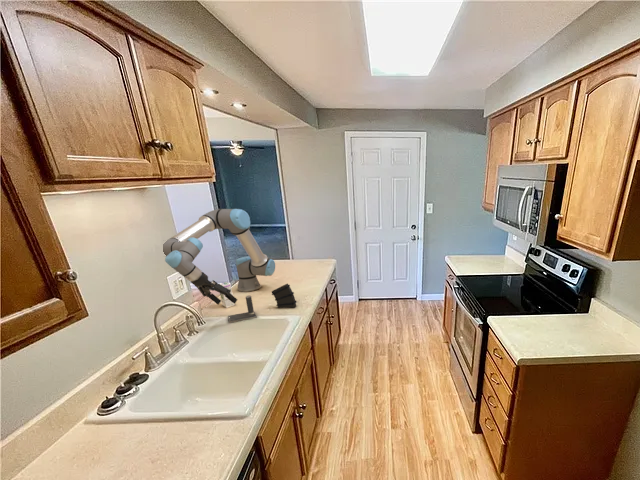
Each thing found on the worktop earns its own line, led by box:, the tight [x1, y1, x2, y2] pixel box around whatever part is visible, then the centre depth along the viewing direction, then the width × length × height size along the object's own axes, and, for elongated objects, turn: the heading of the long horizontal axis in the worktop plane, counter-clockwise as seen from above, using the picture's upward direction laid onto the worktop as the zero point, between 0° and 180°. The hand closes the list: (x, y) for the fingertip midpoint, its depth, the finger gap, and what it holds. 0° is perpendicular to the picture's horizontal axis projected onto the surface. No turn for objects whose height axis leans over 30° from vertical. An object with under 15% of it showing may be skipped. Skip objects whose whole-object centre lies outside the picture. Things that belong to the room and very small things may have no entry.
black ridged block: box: [271, 283, 297, 309], centre depth 202 cm, size 4×13×15 cm, turn 90°
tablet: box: [227, 311, 257, 324], centre depth 188 cm, size 9×14×1 cm, turn 121°
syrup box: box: [219, 281, 236, 309], centre depth 204 cm, size 6×6×14 cm
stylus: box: [245, 295, 255, 315], centre depth 189 cm, size 3×3×11 cm
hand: (227, 302), depth 181 cm, fingers open, 13 cm apart
